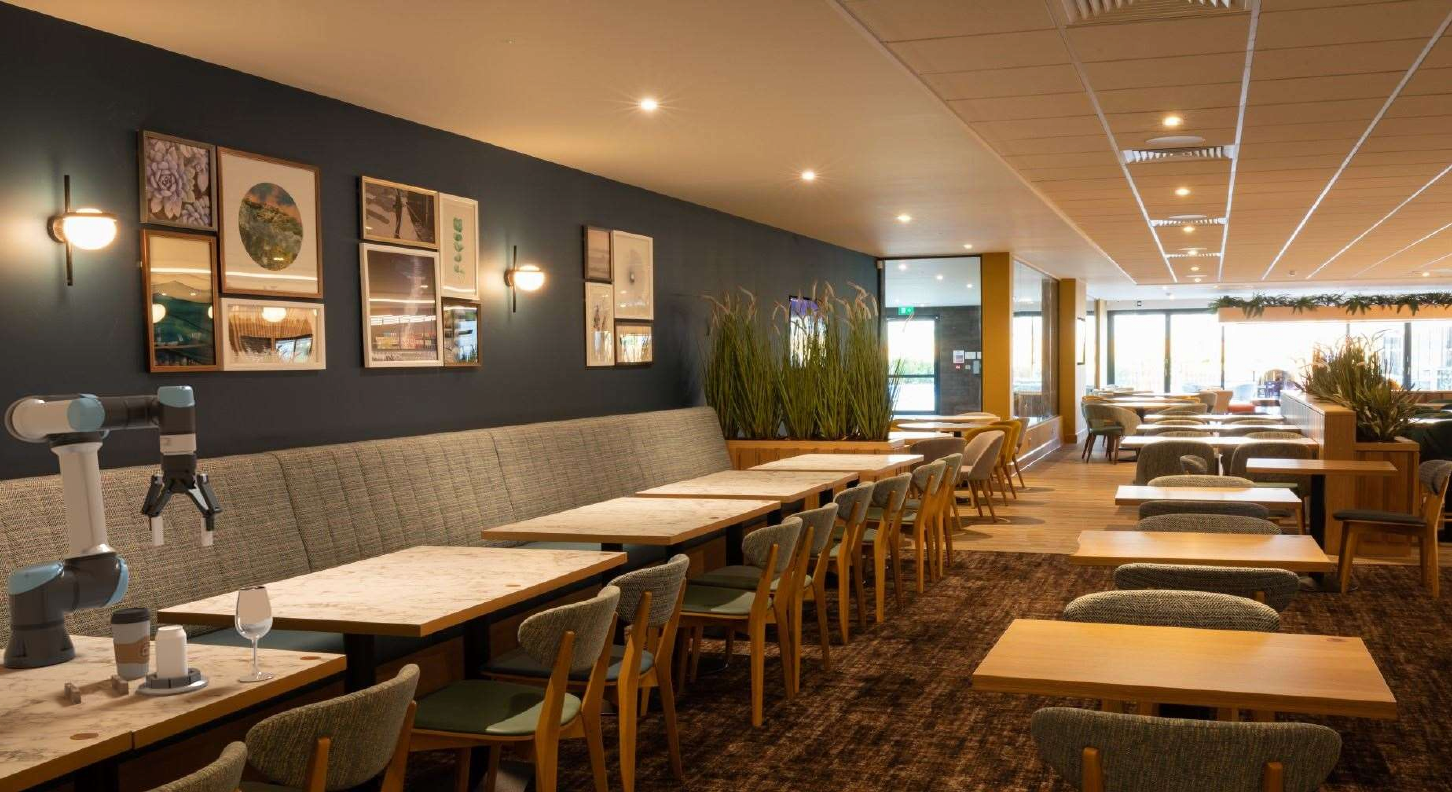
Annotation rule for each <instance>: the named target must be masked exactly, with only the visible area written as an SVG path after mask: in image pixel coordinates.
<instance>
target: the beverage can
mask: <svg viewBox="0 0 1452 792" xmlns="http://www.w3.org/2000/svg"><path fill="white" fill-rule="evenodd" d="M187 643H188V642H187V633H186V631H185V630H184V629H183V625H178V624H177V625H166V626H161V627H158V628H157V632H156V634H155V637H154V647H155V669H156V671H155V672H157V678H174V677H180V676H185V675H188V668H189V665H188V644H187Z"/></svg>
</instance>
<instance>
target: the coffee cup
mask: <svg viewBox="0 0 1452 792" xmlns="http://www.w3.org/2000/svg"><path fill="white" fill-rule="evenodd" d="M151 619H152V617H151V612H149V608H148V607H144V606H142V607H141V606H140V607H127V608H122V609H121V608H120V609H118V610H113V611H112V615H111V617H110V624H111V631H112V638H113V641H112V643H113V651H114V658H115V664H116V672H117V674H116V675H118V676H120V677H121V678H123V679H124V680H125V681H126V680H129V681H130V680H135V679H141V678H144V677H145V678H146V676H147V675H149V674H148V673H150V658H151V657H150V656H151V655H150V654H151V651H150V649H151V636H150V635H151Z"/></svg>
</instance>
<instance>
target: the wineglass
mask: <svg viewBox="0 0 1452 792" xmlns="http://www.w3.org/2000/svg"><path fill="white" fill-rule="evenodd" d="M236 600H237V601H236V606H235V613H234V624H235V625H234V626H235V628H236V631H237V632H238V633H239V634H240V635H241V636H242V637H243V638H246V639H248V640H251V642H252V647H253V648H252V649H253V666H254V667H253V670H252V671H251V673H246V674H243V675H240V676H239V677H238V678H237V680H238V681H239V682H244V683H247V682H249V683H252V682H253V683H254V682H261V681H266V680H269V679H271V678H274V677H275V673H273V672H270V671H261V670H260V669H259V665H258V641H259V639H261V638H263V637H264V636H265V635H266V634H267V633H268V632H269V631H270V629H271V628H272V625H273V620H274V619H273V612H272V605H271V601H270V596H269V593H268V590H267V588H266V585H265V586H263V585H251V586H245V587H240V588H239V589H238V593H237V599H236Z"/></svg>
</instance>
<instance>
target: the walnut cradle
mask: <svg viewBox="0 0 1452 792" xmlns="http://www.w3.org/2000/svg"><path fill="white" fill-rule="evenodd" d="M110 677H111V680H110V681H111V688H113V689H114V690H115V691H116V692H118V693H119V694H120V695H121V696H127V695H129V694H130V688H129V685H130V684H129V682H128V681H126V680H124V679H123V678H121V677H120V676H118V674H113V675H111V676H110ZM81 693H82V692H81V690H80V689H79V688H78V687H76V685H74V684H73V683H72V682H65V683H64V696H65V697H67V699H68V700H70V701H71V702H72V703H73V704H74V705H77V704H81V703H82V696H81V695H82V694H81Z"/></svg>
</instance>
